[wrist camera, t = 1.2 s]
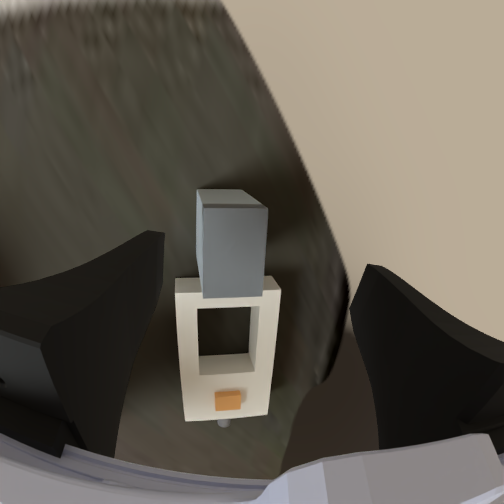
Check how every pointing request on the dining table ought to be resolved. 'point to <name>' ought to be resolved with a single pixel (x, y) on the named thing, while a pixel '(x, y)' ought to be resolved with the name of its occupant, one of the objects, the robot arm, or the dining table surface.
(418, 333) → the robot arm
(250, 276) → the plug
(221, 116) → the dining table surface
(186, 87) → the dining table surface
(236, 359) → the white rectangular frame
